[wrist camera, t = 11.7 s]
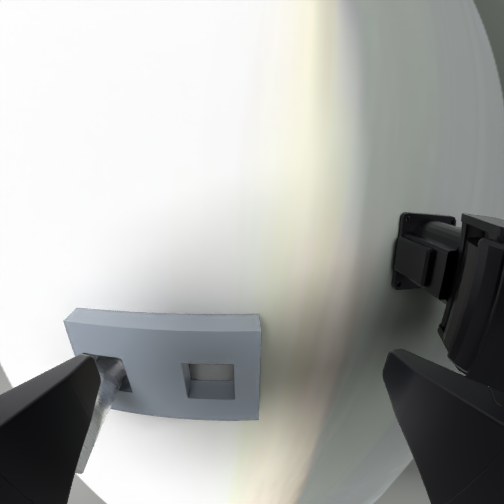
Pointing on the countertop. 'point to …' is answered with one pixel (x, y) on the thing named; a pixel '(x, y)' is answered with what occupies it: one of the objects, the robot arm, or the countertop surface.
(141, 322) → the socket block
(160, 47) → the countertop surface
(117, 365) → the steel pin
